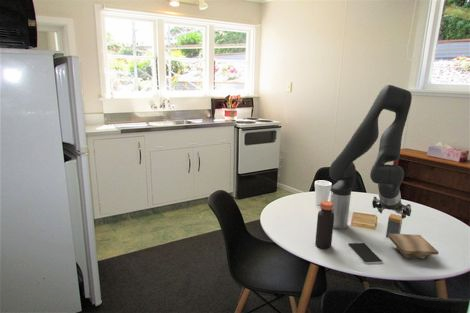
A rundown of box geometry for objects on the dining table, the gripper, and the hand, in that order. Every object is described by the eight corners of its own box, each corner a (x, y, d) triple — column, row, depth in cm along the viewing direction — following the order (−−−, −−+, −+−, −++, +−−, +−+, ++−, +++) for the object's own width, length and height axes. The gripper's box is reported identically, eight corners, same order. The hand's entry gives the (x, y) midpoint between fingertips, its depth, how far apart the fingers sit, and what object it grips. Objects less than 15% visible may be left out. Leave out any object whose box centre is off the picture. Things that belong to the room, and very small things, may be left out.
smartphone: (364, 242, 137) (383, 261, 123) (364, 245, 137) (383, 264, 123) (347, 243, 136) (364, 262, 122) (346, 245, 137) (364, 264, 122)
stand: (401, 261, 124) (402, 250, 123) (386, 243, 138) (387, 233, 137) (436, 262, 124) (438, 251, 123) (418, 244, 137) (419, 234, 136)
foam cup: (311, 200, 185) (312, 180, 182) (325, 200, 186) (327, 180, 183) (316, 207, 176) (318, 185, 173) (332, 206, 177) (334, 185, 174)
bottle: (313, 241, 139) (317, 199, 134) (328, 241, 138) (332, 200, 134) (317, 249, 132) (321, 206, 127) (332, 249, 132) (337, 206, 127)
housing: (397, 240, 141) (400, 220, 139) (385, 236, 144) (388, 216, 142) (399, 235, 145) (402, 216, 142) (388, 232, 148) (391, 213, 145)
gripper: (412, 192, 117) (412, 210, 129) (373, 184, 126) (376, 202, 137) (408, 209, 115) (408, 226, 126) (368, 200, 123) (372, 217, 134)
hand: (392, 214), depth 132 cm, fingers open, 8 cm apart
